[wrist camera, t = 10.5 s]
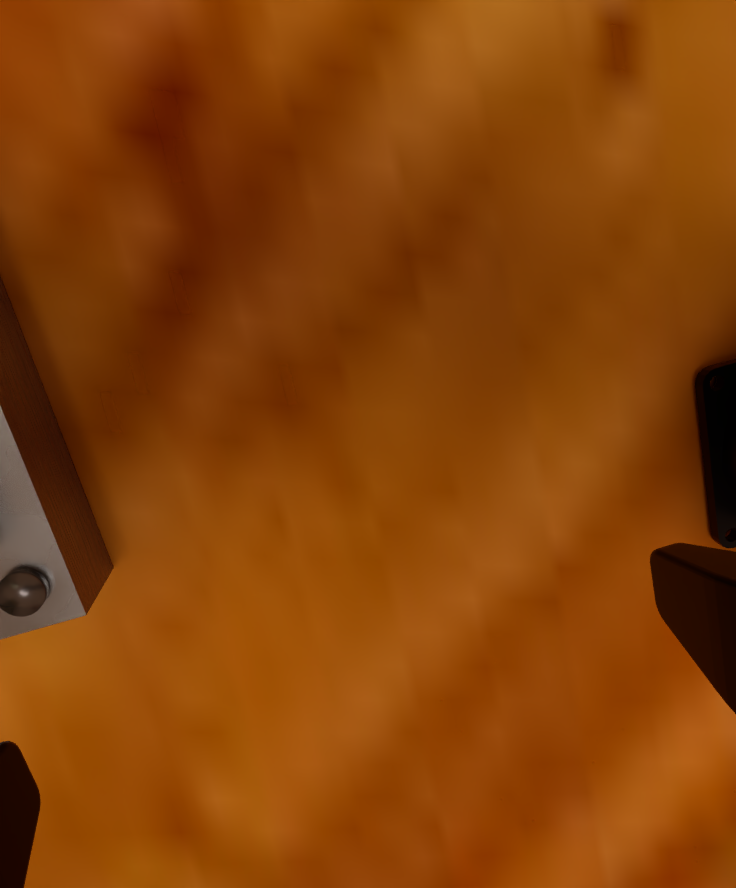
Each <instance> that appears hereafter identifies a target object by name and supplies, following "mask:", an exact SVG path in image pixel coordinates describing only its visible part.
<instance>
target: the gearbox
mask: <svg viewBox="0 0 736 888" xmlns="http://www.w3.org/2000/svg"><path fill="white" fill-rule="evenodd" d="M112 570H113V566H112V563H111V560H110V558H109V555H108V553H107V550H106V548H105V545H104V542H103V540H102V537H101V535H100V532H99V530H98V527H97V524H96V522H95V519H94V517H93V514H92V512H91V509H90V506H89V504H88V501H87V499H86V496H85V494H84V491H83V488H82V486H81V483H80V481H79V478H78V476H77V473H76V470H75V468H74V465H73V463H72V460H71V458H70V455H69V452H68V450H67V447H66V445H65V442H64V440H63V437H62V434H61V432H60V429H59V427H58V424H57V422H56V419H55V416H54V414H53V411H52V409H51V406H50V403H49V401H48V398H47V396H46V393H45V391H44V388H43V385H42V383H41V380H40V378H39V375H38V373H37V370H36V367H35V365H34V362H33V360H32V357H31V355H30V352H29V349H28V347H27V344H26V342H25V339H24V337H23V334H22V331H21V329H20V326H19V324H18V321H17V319H16V316H15V313H14V311H13V308H12V306H11V303H10V301H9V298H8V295H7V293H6V290H5V288H4V285H3V283H2V280H1V277H0V639H3V638H7V637H11V636H14V635H18V634H21V633H25V632H28V631H32V630H35V629H39V628H42V627H46V626H49V625H53V624H56V623H60V622H63V621H67V620H70V619H74V618H77V617H81V616H84V615H87V613H88V611H89V609H90V608H91V606H92V604H93V602H94V601H95V599H96V597H97V596H98V594H99V592H100V590H101V589H102V587H103V585H104V583H105V582H106V580H107V578H108V577H109V575H110V573H111V571H112Z"/></svg>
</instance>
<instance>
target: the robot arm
mask: <svg viewBox="0 0 736 888" xmlns="http://www.w3.org/2000/svg"><path fill="white" fill-rule="evenodd" d="M714 376H716V379H717V380H716V384H715V385H714V387H712V388H711V387H710V381H711V379H712V378H713V377H714ZM695 388H696V397H697V406H698V415H699V425H700V434H701V443H702V452H703V462H704V471H705V480H706V490H707V499H708V508H709V517H710V527H711V535H712V538H713V540H714V541H715V542H716V543H718V544H720V545H721V546H723V547H726V548H734V547H736V359H734V360H730V361H726V362H723V363H719V364H715V365H712V366H708V367H706V368H704V369H702V370H701V371H700V372H699V373H698V375H697V378H696V382H695ZM729 529H731V533H730V534H729V535H728V536H726V537H725V535H726V532H727V531H728V530H729ZM650 565H651V573H652V580H653V587H654V594H655V601H656V605H657V609H658V611H659V613H660V615H661V617H662V619H663V620H664V622H665V623H666V624H667V626H668V627H669V628H670V630H671V631H672V632H673V634H674V635H675V636H676V638H677V639H678V640H679V642H680V643H681V644H682V646H683V647H684V648H685V650H686V651H687V652H688V653H689V655H690V656H691V657H692V659H693V660H694V661H695V663H696V664H697V665H698V667H699V668H700V669H701V671H702V672H703V673H704V675H705V676H706V677H707V679H708V680H709V681H710V683H711V684H712V685H713V687H714V688H715V689H716V691H717V692H718V693H719V695H720V696H721V697H722V698H723V700H724V701H725V702H726V703H727V705H728V706H729V707H730V708H731V709H732V710H733V711H734V712H735V714H736V552H734V551H728V550H722V549H716V548H710V547H704V546H698V545H692V544H686V543H675V544H672V545H668V546H665V547H662V548H658V549H656V550H654V551H653V552H652V554H651V557H650ZM39 811H40V793H39V789H38V787H37V784H36V782H35V780H34V778H33V776H32V774H31V772H30V770H29V768H28V765H27V763H26V761H25V759H24V757H23V755H22V753H21V751H20V749H19V747H18V746H17V745H16V744H15V743H13V742H10V741H5V742H1V743H0V888H24V884H25V879H26V874H27V870H28V865H29V860H30V855H31V850H32V845H33V840H34V836H35V831H36V826H37V821H38V816H39Z"/></svg>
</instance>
